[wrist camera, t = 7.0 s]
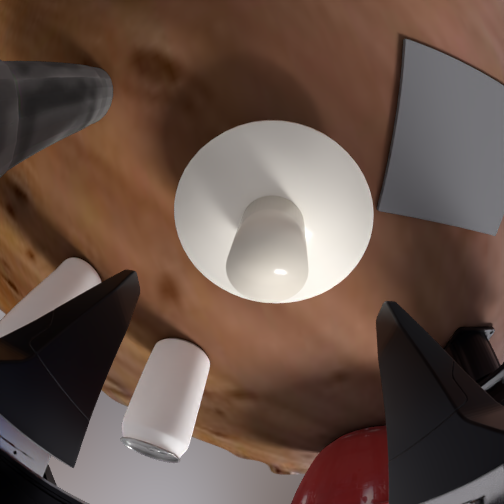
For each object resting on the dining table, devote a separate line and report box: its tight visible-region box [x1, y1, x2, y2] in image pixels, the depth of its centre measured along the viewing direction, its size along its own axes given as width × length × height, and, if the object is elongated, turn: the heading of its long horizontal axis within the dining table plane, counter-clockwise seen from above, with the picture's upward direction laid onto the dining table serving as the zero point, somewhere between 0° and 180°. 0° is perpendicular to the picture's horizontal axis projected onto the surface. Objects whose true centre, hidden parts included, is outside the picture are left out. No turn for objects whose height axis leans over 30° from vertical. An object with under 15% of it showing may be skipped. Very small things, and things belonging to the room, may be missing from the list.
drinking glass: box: [0, 257, 102, 338], centre depth 19 cm, size 7×7×15 cm
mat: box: [377, 39, 504, 236], centre depth 14 cm, size 12×12×1 cm
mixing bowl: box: [291, 426, 389, 504], centre depth 32 cm, size 28×28×16 cm
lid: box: [174, 120, 374, 303], centre depth 13 cm, size 10×10×5 cm
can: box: [121, 338, 210, 463], centre depth 24 cm, size 6×6×12 cm
